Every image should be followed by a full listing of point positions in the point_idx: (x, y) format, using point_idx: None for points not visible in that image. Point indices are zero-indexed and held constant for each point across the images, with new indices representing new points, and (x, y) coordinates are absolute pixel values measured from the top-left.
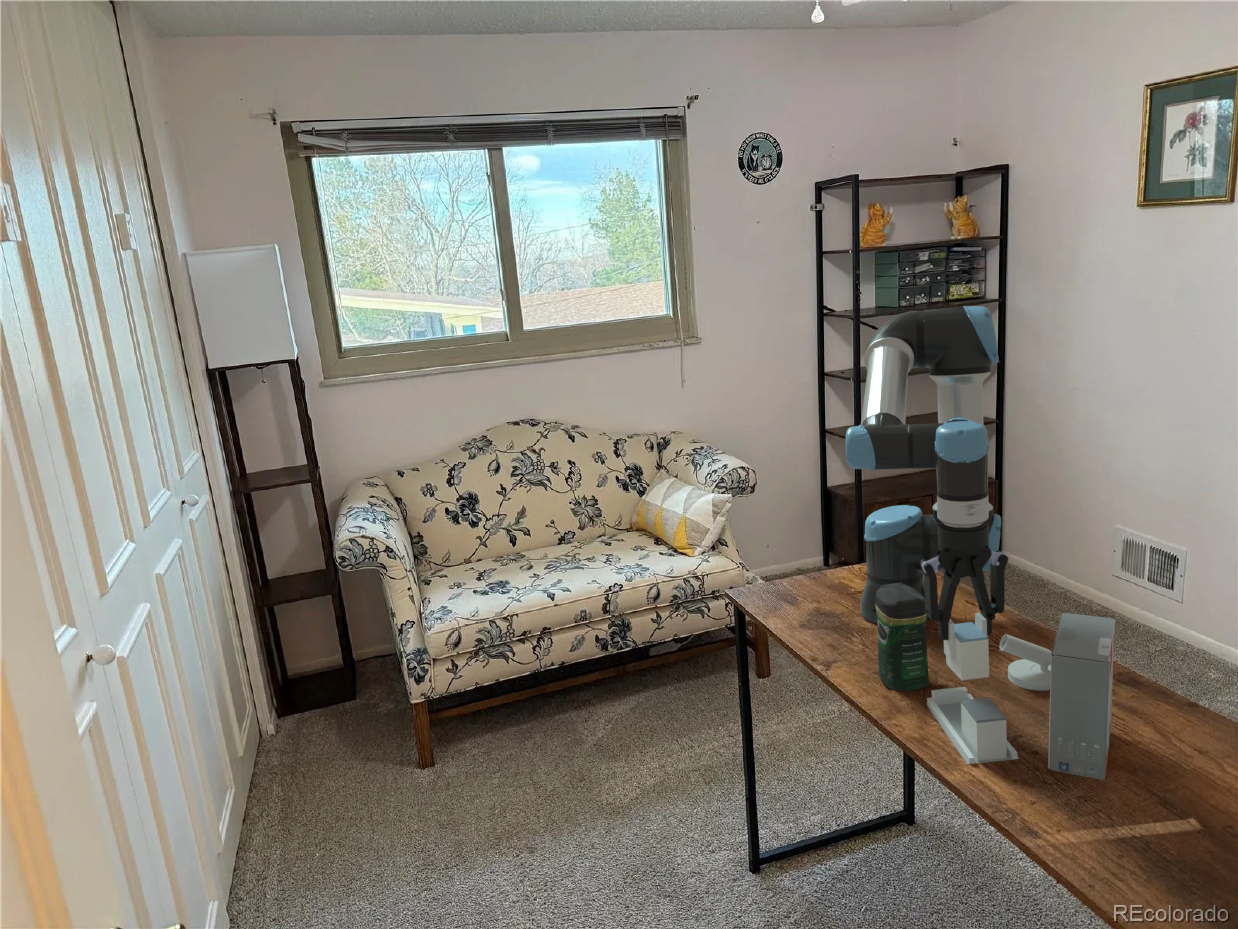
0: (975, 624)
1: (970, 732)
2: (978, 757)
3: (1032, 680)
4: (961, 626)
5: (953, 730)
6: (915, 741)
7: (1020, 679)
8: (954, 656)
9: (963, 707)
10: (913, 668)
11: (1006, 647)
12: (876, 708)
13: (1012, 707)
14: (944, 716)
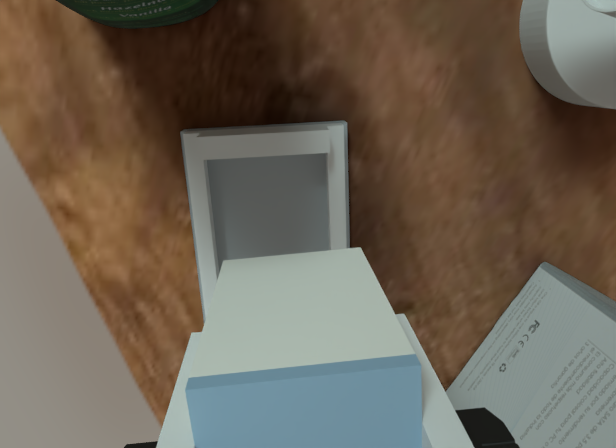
0: (424, 434)
1: None
2: None
3: (592, 86)
4: (310, 428)
5: None
6: (113, 303)
7: (557, 70)
8: None
9: None
10: (134, 8)
11: (606, 12)
12: (8, 101)
13: (458, 161)
14: (212, 259)
